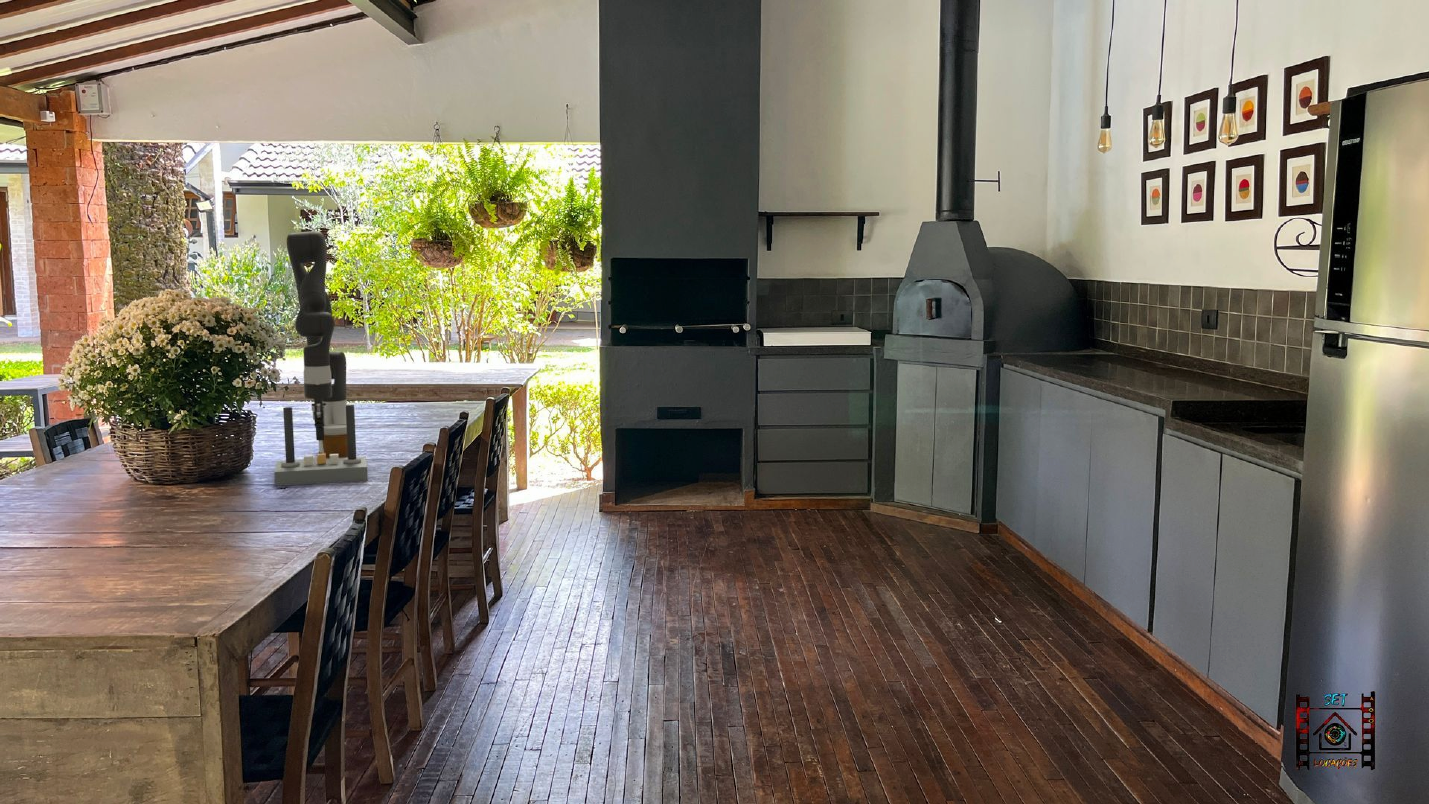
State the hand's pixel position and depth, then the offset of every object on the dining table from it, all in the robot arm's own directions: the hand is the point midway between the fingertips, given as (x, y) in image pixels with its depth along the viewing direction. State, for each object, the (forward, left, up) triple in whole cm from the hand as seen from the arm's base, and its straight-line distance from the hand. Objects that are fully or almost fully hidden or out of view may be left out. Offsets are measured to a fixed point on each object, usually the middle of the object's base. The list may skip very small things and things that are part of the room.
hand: (320, 440), depth 314 cm
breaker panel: (0, 0, -11) cm, 11 cm away
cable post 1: (0, -8, -7) cm, 11 cm away
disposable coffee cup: (-19, +4, -11) cm, 23 cm away
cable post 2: (0, +9, -7) cm, 11 cm away
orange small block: (0, 0, -7) cm, 7 cm away
